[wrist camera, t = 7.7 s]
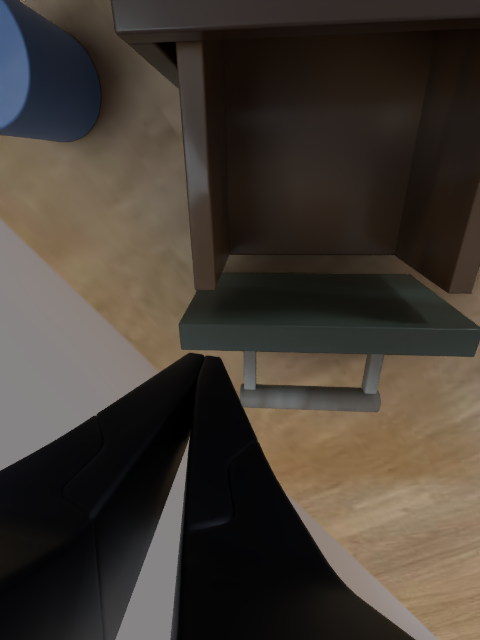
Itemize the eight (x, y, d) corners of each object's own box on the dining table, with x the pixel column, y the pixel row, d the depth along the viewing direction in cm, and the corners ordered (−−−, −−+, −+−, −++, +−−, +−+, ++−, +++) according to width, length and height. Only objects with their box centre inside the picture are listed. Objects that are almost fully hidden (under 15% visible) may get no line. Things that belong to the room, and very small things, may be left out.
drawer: (390, 365, 21) (442, 449, 15) (211, 360, 21) (190, 438, 15) (468, 5, 13) (643, -133, 7) (191, 19, 14) (133, -95, 8)
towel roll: (22, 143, 17) (-76, 133, 12) (-8, 27, 15) (-140, -39, 10) (109, 141, 17) (44, 131, 12) (90, 23, 15) (2, -49, 10)
